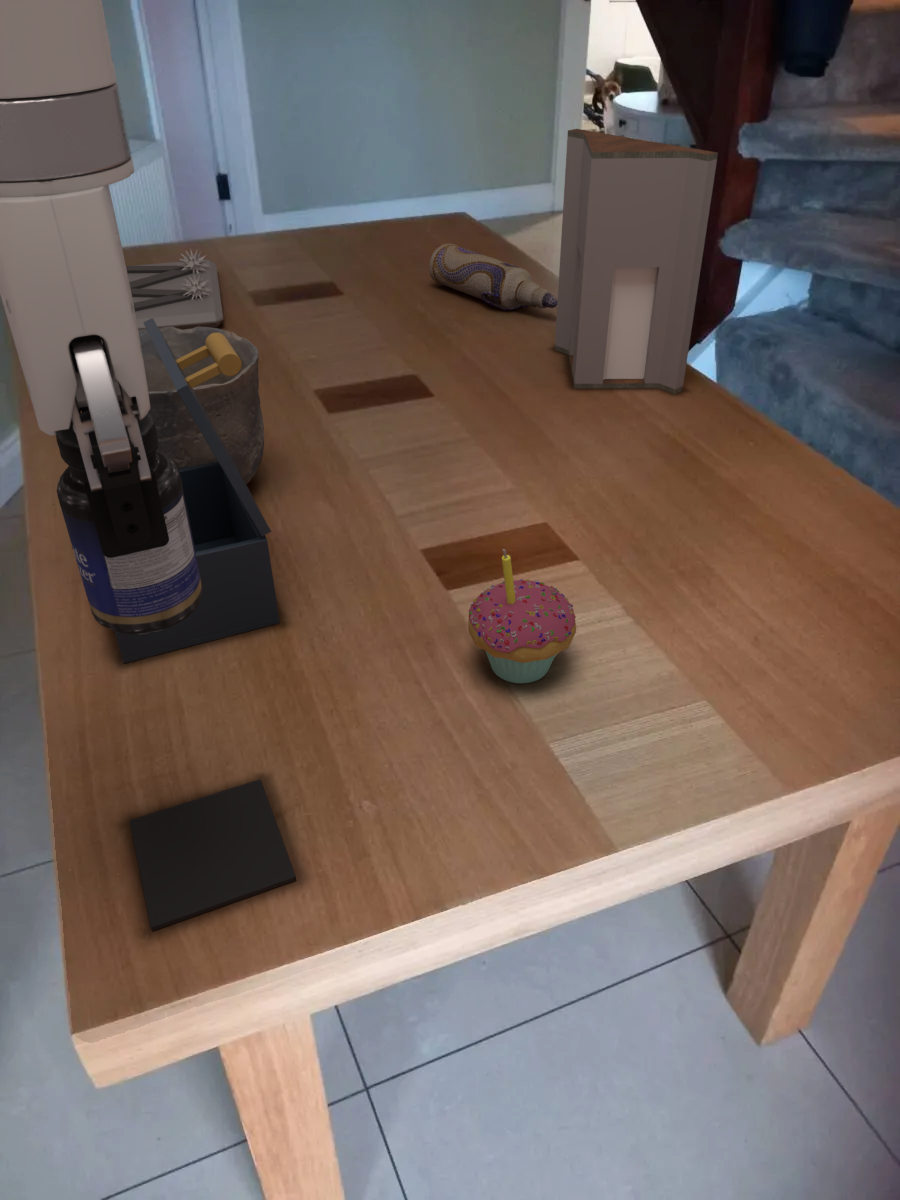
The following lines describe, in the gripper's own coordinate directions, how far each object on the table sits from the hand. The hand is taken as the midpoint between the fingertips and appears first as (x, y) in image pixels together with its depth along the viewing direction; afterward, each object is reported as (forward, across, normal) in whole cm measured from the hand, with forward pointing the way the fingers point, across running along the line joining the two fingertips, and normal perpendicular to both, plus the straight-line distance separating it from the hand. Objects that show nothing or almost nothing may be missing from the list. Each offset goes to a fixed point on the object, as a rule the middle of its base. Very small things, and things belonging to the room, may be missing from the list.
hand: (125, 513), depth 48 cm
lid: (+8, -26, +8) cm, 29 cm away
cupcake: (+24, -5, +27) cm, 36 cm away
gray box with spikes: (+24, -108, +15) cm, 112 cm away
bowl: (+24, -45, +8) cm, 52 cm away
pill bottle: (+6, 0, 0) cm, 6 cm away
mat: (+24, +3, 0) cm, 24 cm away
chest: (+24, -26, +4) cm, 36 cm away
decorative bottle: (+24, -86, +64) cm, 110 cm away
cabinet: (+24, -53, +63) cm, 86 cm away
